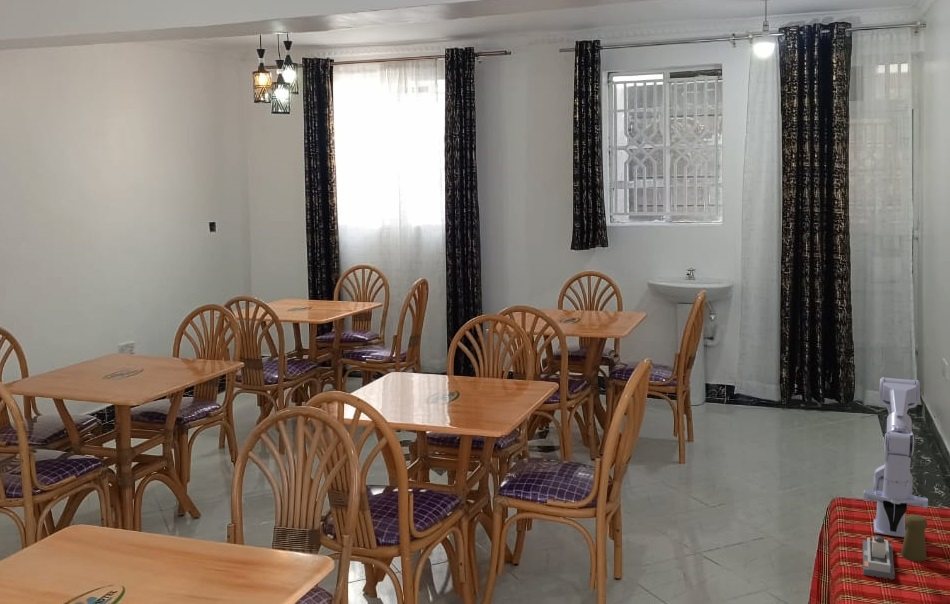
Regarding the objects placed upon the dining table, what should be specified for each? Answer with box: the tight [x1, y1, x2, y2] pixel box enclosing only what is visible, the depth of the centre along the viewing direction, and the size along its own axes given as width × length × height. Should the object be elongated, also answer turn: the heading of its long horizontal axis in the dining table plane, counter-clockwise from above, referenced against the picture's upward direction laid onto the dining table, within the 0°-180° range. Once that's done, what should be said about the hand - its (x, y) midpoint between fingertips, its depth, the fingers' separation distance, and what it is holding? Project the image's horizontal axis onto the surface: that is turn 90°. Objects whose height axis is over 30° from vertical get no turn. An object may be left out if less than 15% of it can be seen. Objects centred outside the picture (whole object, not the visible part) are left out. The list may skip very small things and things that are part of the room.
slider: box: [871, 535, 886, 559], centre depth 222 cm, size 3×3×5 cm
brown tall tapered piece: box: [900, 514, 928, 562], centre depth 224 cm, size 6×6×11 cm
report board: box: [862, 537, 895, 580], centre depth 222 cm, size 18×7×4 cm, turn 156°
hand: (893, 530), depth 217 cm, fingers closed
